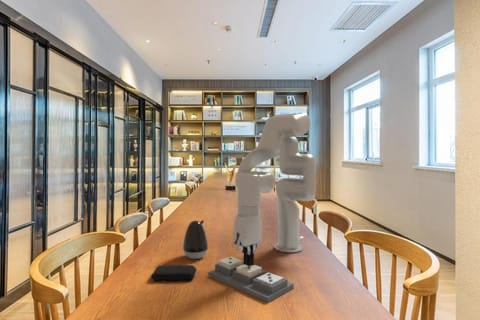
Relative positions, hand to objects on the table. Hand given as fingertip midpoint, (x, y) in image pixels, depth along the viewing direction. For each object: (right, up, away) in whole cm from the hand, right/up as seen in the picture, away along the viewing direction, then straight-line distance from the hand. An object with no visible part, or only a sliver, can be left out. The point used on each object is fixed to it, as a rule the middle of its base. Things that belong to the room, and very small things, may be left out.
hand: (248, 264), depth 102 cm
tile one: (0, -3, 0) cm, 3 cm away
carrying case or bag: (-26, -6, +6) cm, 27 cm away
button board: (0, -6, 0) cm, 6 cm away
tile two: (-6, -3, +7) cm, 10 cm away
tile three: (+7, -4, -6) cm, 10 cm away
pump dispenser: (-21, -5, +24) cm, 33 cm away
